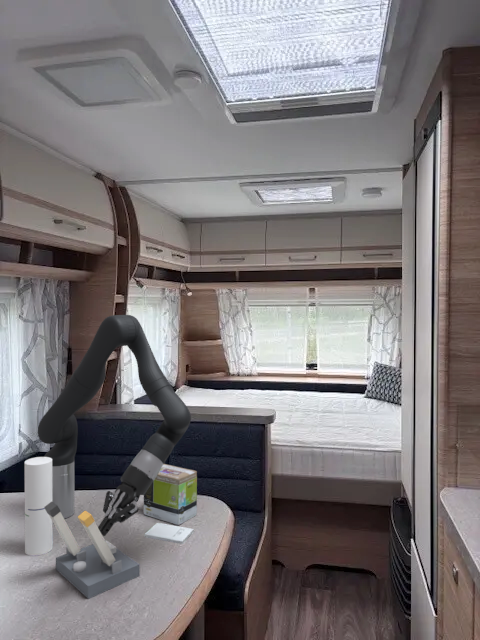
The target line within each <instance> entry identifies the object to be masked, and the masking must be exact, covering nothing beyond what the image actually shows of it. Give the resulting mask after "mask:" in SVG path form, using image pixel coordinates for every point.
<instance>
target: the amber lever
mask: <svg viewBox="0 0 480 640" xmlns="http://www.w3.org/2000/svg"><path fill="white" fill-rule="evenodd" d="M77 519H78V520H79V523H81V525H82V526H83V528H84V530H85V532H86V534H87V536H88V538H89V539H90V541H91V544H94V546H95V548H96V550H97V552H98V553H99V555H100V557H101V559H102V561H103V562H104V563H106V564H107V565H108V566H111V567H112V563H114V561H115V558H114V556H113V554H112V552H111V551H110V549H109V547H108V545H107V543H106V541H107V540H106V539H105V538H104V536H103V535H102V534H101V532H100V530H99V529H98V525H97V523H96V521H95V518H94V517H93V515H92V514H91V513H90V512H88V511H87V510H84V511H83V512H81V513H80V514H79V515H78V516H77ZM105 540H106V541H105Z"/></svg>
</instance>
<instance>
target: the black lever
mask: <svg viewBox="0 0 480 640" xmlns="http://www.w3.org/2000/svg"><path fill="white" fill-rule="evenodd" d="M44 508H45V510H46V512H47V513H48V514H49V516H50V518H51V520H52V524H53V525H54V527H55V529H56V530H57V532H58V534H59V536H60V538H61V540H62V542H63V543H64V545H65V548H66V547H67V549H68V551H69V552H70V553H71V554H72V555H74V556H77V553H79V552H80V551H81V548H80V546H79V544H78V542H77V540H76V538H75V536H74V535H73V533H72V531H71V529H70V527H69V525H68V523H67V522H66V519H64V518H63V516H62V514H61V511H60V509H59V507H58V505H56V504H55V503H54V502H50V503H49V504H48V505H46V506H45V507H44Z"/></svg>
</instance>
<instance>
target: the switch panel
mask: <svg viewBox="0 0 480 640" xmlns="http://www.w3.org/2000/svg"><path fill="white" fill-rule="evenodd" d="M104 540H105V541H106V543H107V545H108V547H109V549H110V551H111V552H112V554H113V556H114V558H115V561H114V563H112V567H111V566H108V565H107V564H106V563H104V562H103V561H102V559H101V557H100V555H99V553H98V552H97V550H96V548H95V546H94V544H93V543H91V544H90V545H87V546H84V547H82V548H80V549H81V551H80V552H79V553H77V556H74V555H72V554H71V553H70V552H69V551H68V549H67V547H66V546H65V549H66V550H65V551H66V552H65V554H62V555H59V556H57V557H55V570H56V571H57V572H58V573H59V574H61V575H62V577H64V578H65V579H66V580H67V581H68V583H71V585H72V586H74V587H75V588H76V589H77V590H78V591H79V592H80V593H81V594H82V595H83V596H85V597H86V598H87V600H89V599H91V598H93V597H95V596H98V595H101V594H102V593H104V592H106V591H109V590H111V589H113V588H116V587H118V586H120V585H122V584H124V583H127V582H130V581H131V580H133V579H136V578H138V577H140V571H141V567H140V563H138V562H137V561H136V560H134V559H133V558H131V557H130V556H128V555H127V554H125V553H124V551H121V550H120V549H119V548H118V547H117V546H115V545H114V544H113V543H111V542H110V541H109V540H106V539H104Z"/></svg>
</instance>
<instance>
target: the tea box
mask: <svg viewBox="0 0 480 640" xmlns="http://www.w3.org/2000/svg"><path fill="white" fill-rule="evenodd" d="M197 473H198V471H197V470H194V469H189V468H185V467H184V468H183V467H180V466H175V465H171V464H166V463H164V464H163V466H162V468H161V470H160V472H159V473H158V475H157V476H156V478H155V479H154V481H153V482H152V484H151V485H150V487H149V489H148V490H147V492H146V493H145V494H144V495H143V515H145V516H149V517H150V518H154V519H156V520H160V521H163V522H167V523H170V524H172V525H173V524H174V525H175V526H179V525H182V524H184V523H185V522H187V521H189V520H190V519H192V518H194V517H195V516H196V515H197V513H198V512H197V511H198V510H197V508H198V507H197V506H198V500H197V499H198V497H197V496H198V491H197V490H198V488H197V487H198V474H197Z"/></svg>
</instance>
